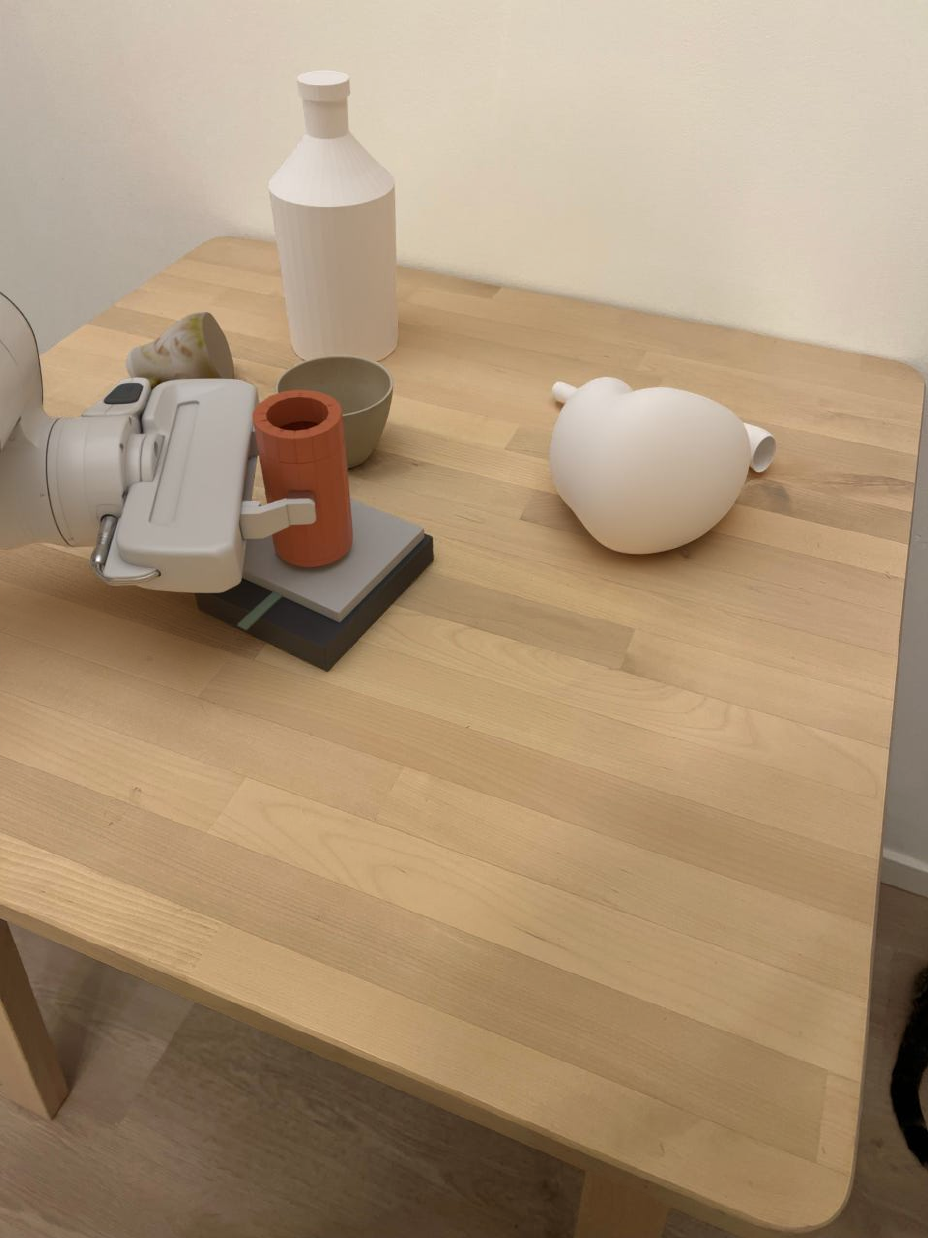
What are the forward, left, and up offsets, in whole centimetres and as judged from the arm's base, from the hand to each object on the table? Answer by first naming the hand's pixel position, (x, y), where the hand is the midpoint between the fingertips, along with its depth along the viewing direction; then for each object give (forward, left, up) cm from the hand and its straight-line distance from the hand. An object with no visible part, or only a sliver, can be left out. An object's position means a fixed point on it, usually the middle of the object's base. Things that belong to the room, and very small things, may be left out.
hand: (317, 474), depth 65 cm
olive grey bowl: (-10, +14, -10) cm, 20 cm away
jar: (-1, -1, -6) cm, 6 cm away
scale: (-1, -1, -10) cm, 10 cm away
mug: (-30, +15, -10) cm, 35 cm away
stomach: (+14, +23, -10) cm, 29 cm away
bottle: (-22, +31, -10) cm, 40 cm away
